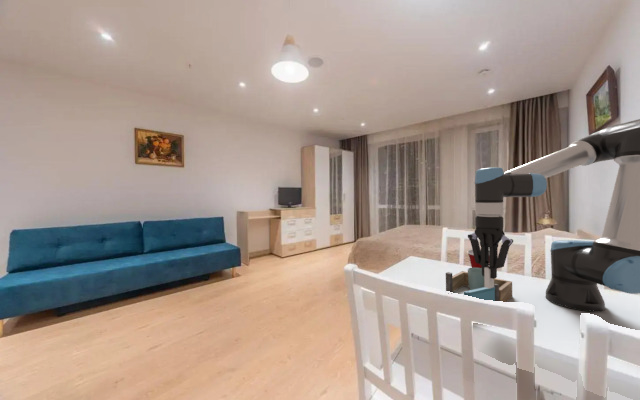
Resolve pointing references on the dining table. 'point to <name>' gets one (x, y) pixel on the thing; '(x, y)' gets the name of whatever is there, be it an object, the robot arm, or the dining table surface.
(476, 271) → the cup
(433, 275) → the dining table surface
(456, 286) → the wooden u-shaped tray
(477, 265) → the plastic cup
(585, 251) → the robot arm
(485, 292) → the blue flat rectangular panel
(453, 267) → the dining table surface
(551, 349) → the dining table surface
